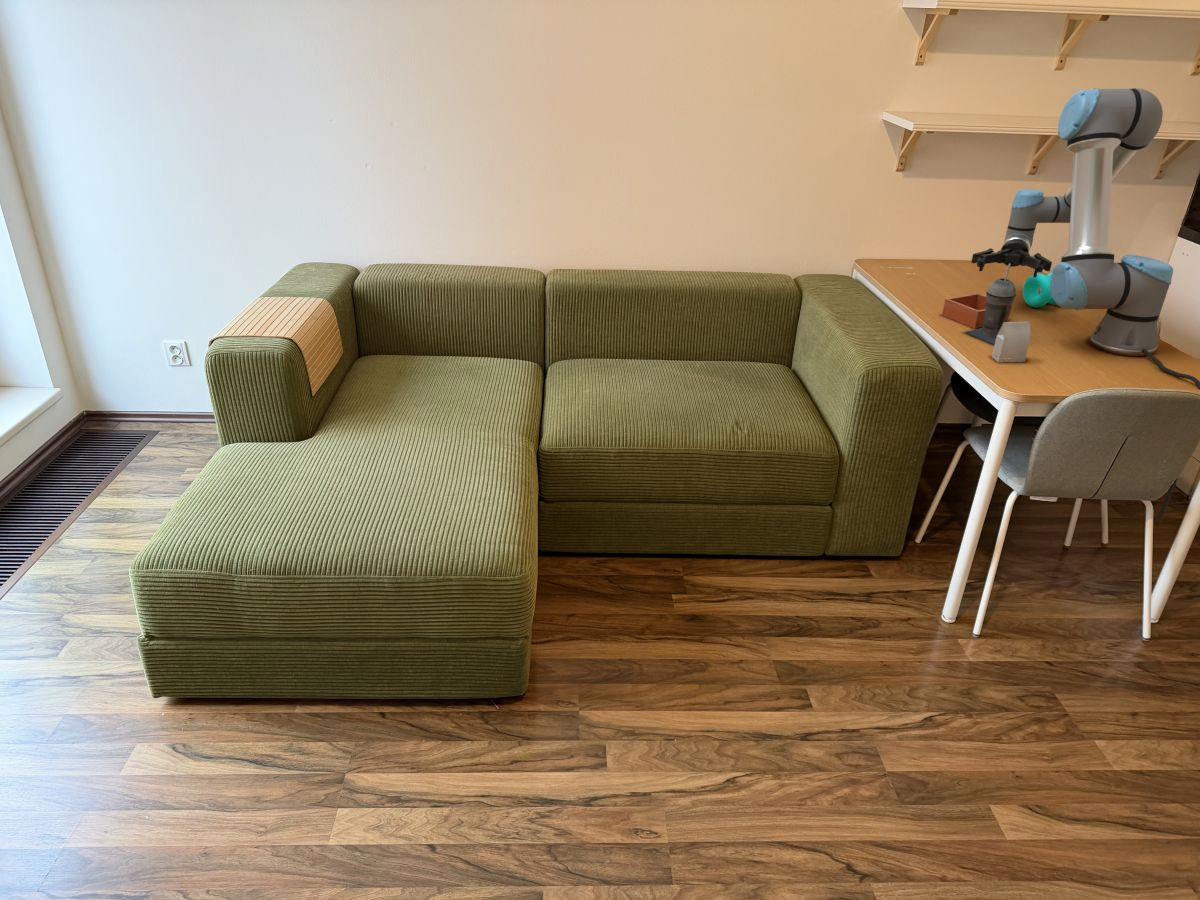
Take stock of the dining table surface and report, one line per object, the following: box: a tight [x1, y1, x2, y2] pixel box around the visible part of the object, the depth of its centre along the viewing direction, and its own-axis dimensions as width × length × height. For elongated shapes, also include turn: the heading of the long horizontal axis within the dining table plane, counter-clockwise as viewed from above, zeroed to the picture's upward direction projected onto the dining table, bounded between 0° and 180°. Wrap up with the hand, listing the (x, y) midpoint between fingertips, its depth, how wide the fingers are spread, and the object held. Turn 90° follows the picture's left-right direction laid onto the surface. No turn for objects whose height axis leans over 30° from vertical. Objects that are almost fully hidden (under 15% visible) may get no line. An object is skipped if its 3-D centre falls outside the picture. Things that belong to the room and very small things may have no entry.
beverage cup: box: [982, 264, 1017, 338], centre depth 215 cm, size 7×7×20 cm
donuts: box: [1021, 272, 1058, 308], centre depth 239 cm, size 10×10×10 cm
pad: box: [965, 327, 996, 346], centre depth 219 cm, size 10×9×1 cm
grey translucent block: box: [991, 321, 1032, 363], centre depth 203 cm, size 4×7×10 cm, turn 91°
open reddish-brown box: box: [941, 292, 1013, 329], centre depth 231 cm, size 13×13×5 cm
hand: (1008, 269), depth 218 cm, fingers open, 13 cm apart
